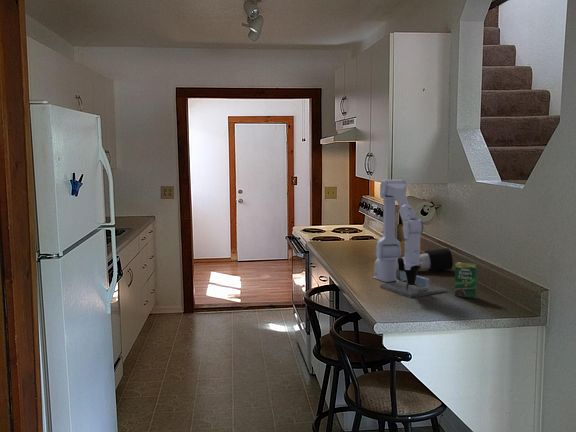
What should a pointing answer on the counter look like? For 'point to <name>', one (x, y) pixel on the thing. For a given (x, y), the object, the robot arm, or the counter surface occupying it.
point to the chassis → (412, 288)
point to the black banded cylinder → (431, 260)
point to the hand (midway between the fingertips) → (411, 284)
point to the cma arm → (419, 280)
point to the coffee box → (465, 280)
